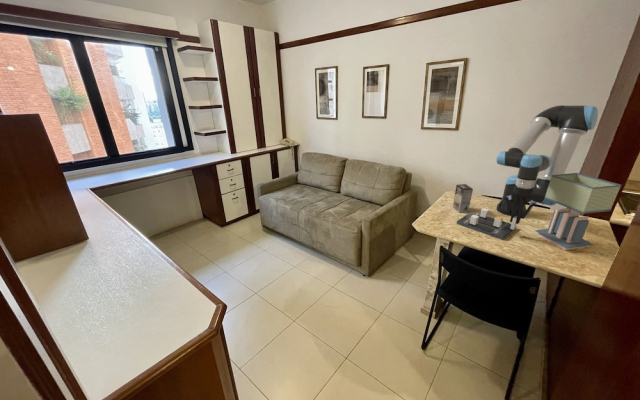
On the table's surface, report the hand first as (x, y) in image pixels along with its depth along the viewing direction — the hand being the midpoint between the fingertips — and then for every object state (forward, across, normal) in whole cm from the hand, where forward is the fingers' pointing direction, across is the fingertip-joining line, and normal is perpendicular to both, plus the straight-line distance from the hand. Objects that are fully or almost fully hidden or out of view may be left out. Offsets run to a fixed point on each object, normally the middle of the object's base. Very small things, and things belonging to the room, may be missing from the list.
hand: (512, 228), depth 135 cm
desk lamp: (+4, +18, +11) cm, 22 cm away
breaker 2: (+1, -17, +7) cm, 18 cm away
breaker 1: (+1, -17, -6) cm, 18 cm away
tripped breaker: (+1, -7, 0) cm, 7 cm away
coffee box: (+4, -32, +12) cm, 35 cm away
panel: (+4, -13, 0) cm, 13 cm away
